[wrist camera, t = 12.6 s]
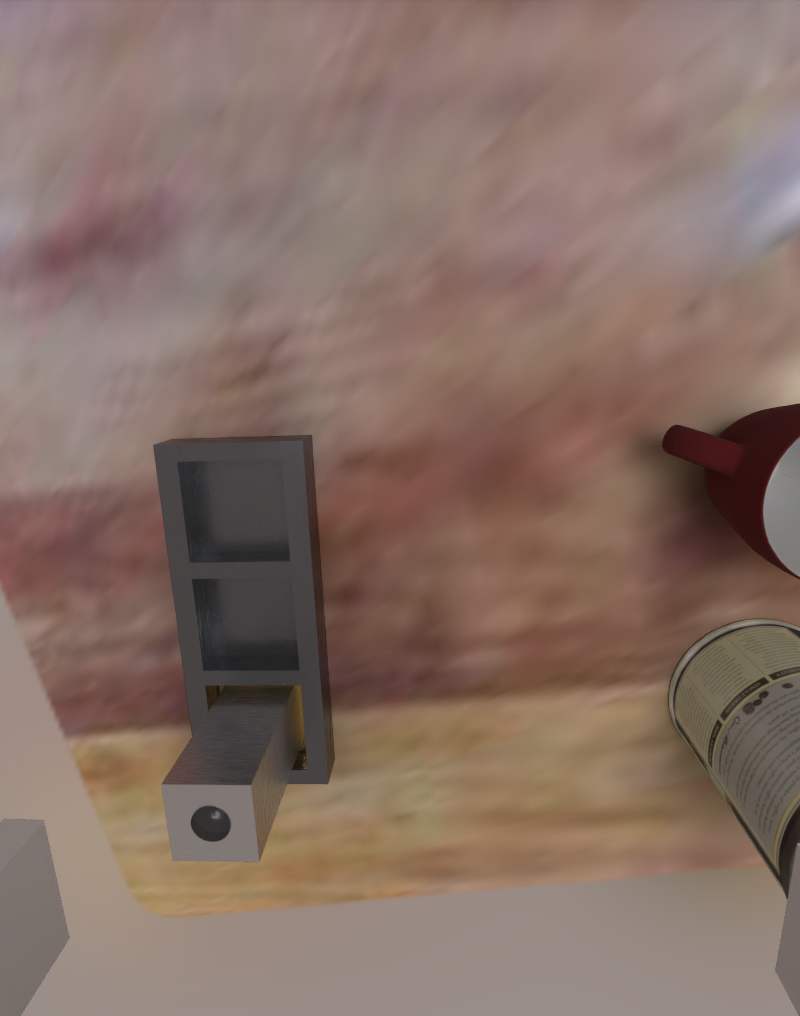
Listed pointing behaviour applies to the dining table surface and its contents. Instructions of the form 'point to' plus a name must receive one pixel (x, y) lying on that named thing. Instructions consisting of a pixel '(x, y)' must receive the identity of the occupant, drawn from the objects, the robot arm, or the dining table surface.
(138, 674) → the dining table surface
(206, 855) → the grey block with knob
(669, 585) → the dining table surface
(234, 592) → the grey compartment tray
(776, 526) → the mug
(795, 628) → the coffee can
